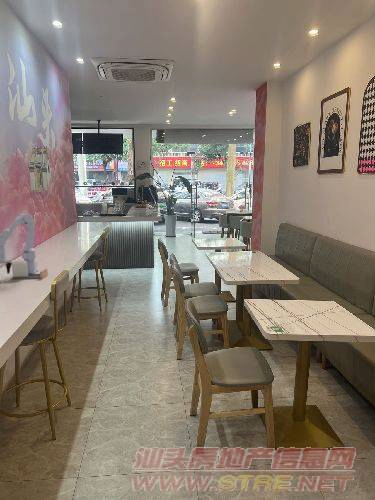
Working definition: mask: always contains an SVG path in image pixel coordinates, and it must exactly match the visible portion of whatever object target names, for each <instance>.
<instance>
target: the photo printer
mask: <svg viewBox="0 0 375 500" xmlns="http://www.w3.org/2000/svg"><path fill="white" fill-rule="evenodd" d="M11 267H12V268H11V270H12V277H26V276H28V274H29V273H28V269H27V263H26V261H24V260H15V261H13V262H12V265H11Z"/></svg>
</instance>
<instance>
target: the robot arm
mask: <svg viewBox="0 0 375 500" xmlns="http://www.w3.org/2000/svg"><path fill="white" fill-rule="evenodd" d="M22 224H23V225H25V226H26V237H25V248H23V252H22V254H21V258H22V259H23V261H26V263H27V269H28V274H36V272H38V271H39V269H38V267H37V265H38V264H37V262H36V260H35V259H36V258H37V257H36V252H35V251H36V250H35V249H34V245H35V244H34V243H35V242H34V241H35V230H36V224H35V221H34V217H33V215H31V214H30V213H19V214H18V215H17V216H16V217H15V220H14V221H13V222H12V223H11V224H10V225H9V227H7V229H6V228H4V229H2V232H1V233H0V264H4V265H5V268H6V273H7V274H11V273H10V271H11V269H12V268H11V267H12V262H14V261H13V259H12V260H11V259H7V257H6V247H5V245H6V242H7V241H8V240H9V238H10V237H11V236H12V235H13V233H12V232H13V231H14V230H15V229H16V228H17V227H19V225H22Z"/></svg>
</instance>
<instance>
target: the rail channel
mask: <svg viewBox="0 0 375 500" xmlns="http://www.w3.org/2000/svg"><path fill="white" fill-rule="evenodd" d="M47 276H48V268H43V269H42V270H41V271H39V273H28V276H26V277H13V276H12V280H30V279H32V280H34V279H35V280H36V279H37V280H42V279H44V278H46V277H47Z"/></svg>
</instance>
